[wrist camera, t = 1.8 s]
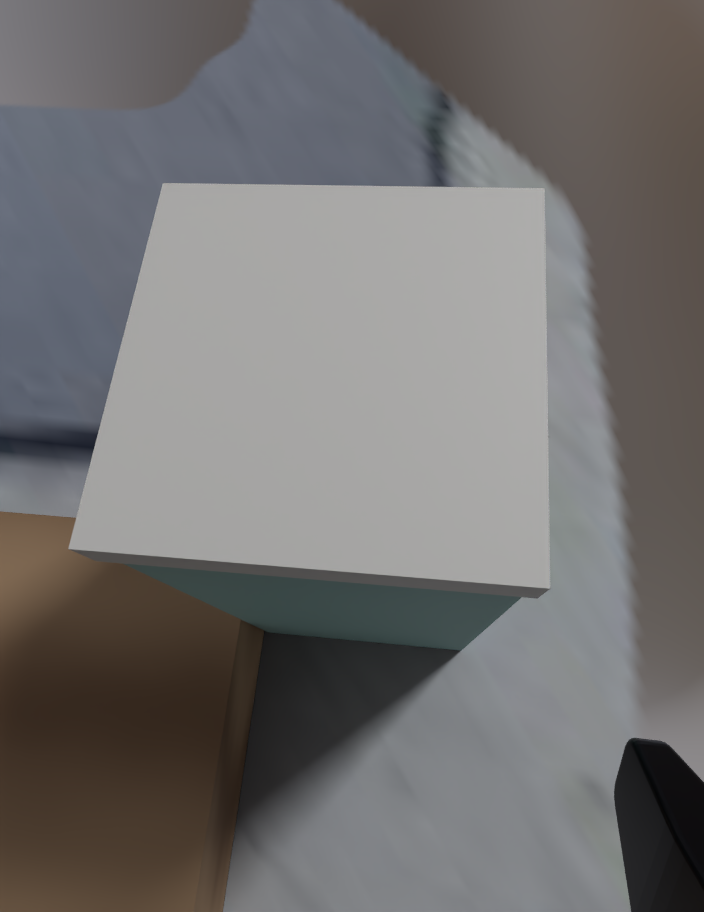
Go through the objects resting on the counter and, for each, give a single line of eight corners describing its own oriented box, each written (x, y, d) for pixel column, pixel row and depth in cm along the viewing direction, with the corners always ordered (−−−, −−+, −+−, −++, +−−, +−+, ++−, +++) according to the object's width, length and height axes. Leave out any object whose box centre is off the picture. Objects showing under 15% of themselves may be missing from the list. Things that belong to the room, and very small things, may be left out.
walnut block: (215, 962, 17) (176, 1015, 14) (-156, 901, 18) (-260, 938, 15) (275, 555, 21) (254, 532, 18) (-34, 528, 22) (-99, 503, 19)
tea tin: (464, 654, 19) (550, 588, 8) (264, 635, 20) (69, 549, 8) (470, 463, 21) (544, 188, 10) (290, 451, 22) (163, 183, 10)
